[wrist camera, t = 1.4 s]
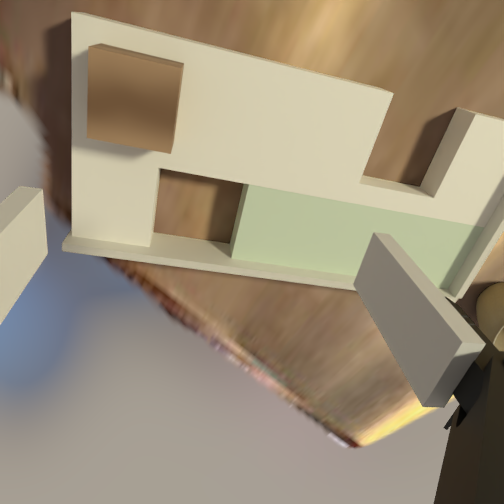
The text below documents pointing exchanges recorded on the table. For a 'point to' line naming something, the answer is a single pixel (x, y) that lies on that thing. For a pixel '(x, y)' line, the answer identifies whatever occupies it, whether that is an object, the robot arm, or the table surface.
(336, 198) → the tray
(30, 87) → the table surface
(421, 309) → the robot arm
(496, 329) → the flower pot
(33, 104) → the table surface
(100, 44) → the block
